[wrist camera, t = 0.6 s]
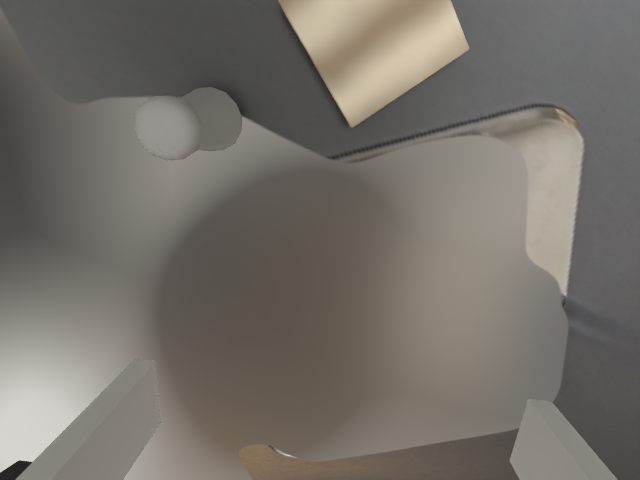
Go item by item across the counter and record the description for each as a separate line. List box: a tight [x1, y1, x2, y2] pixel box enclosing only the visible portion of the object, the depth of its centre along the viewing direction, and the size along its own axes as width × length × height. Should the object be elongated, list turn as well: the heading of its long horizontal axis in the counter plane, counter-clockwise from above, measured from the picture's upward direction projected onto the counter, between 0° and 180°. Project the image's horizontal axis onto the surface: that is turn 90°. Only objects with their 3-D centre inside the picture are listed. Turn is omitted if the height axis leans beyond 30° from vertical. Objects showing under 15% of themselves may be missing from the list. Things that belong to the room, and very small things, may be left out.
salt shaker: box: [134, 87, 242, 160], centre depth 27 cm, size 6×6×13 cm
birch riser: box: [278, 0, 469, 128], centre depth 28 cm, size 12×12×3 cm
